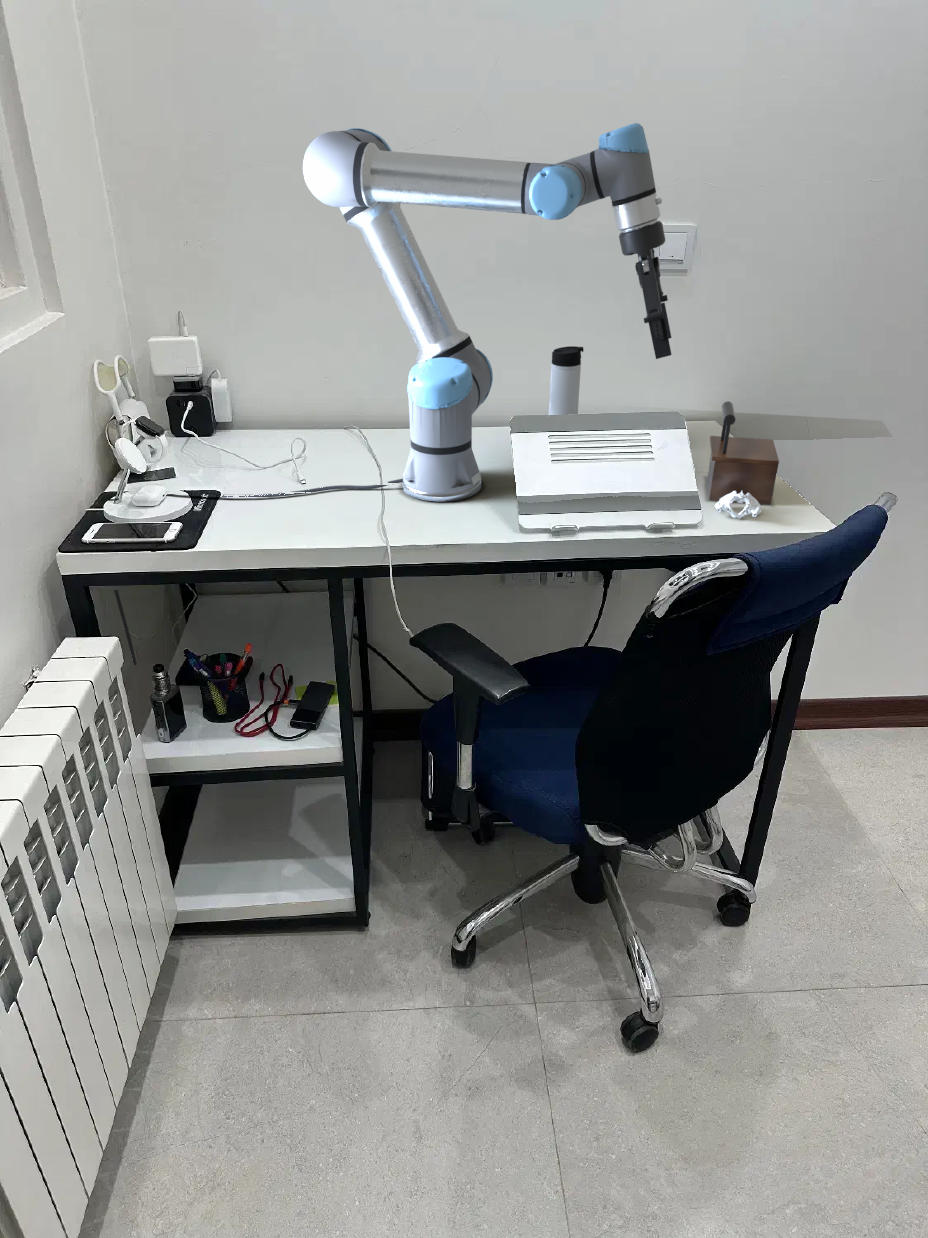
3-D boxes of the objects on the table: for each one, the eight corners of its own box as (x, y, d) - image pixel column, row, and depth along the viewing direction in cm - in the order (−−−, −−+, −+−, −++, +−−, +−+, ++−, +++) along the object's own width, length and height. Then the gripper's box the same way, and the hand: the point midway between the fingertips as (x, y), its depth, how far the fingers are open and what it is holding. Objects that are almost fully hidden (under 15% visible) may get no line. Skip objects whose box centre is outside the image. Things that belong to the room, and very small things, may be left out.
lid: (711, 460, 158) (718, 416, 154) (709, 439, 167) (715, 397, 163) (778, 465, 156) (786, 420, 151) (772, 443, 165) (780, 401, 161)
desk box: (708, 500, 162) (714, 461, 158) (707, 477, 171) (712, 439, 167) (770, 505, 160) (778, 465, 156) (765, 481, 169) (772, 443, 165)
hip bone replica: (714, 499, 153) (720, 482, 158) (712, 520, 155) (717, 503, 160) (761, 505, 150) (766, 488, 155) (758, 526, 153) (762, 509, 158)
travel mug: (576, 444, 188) (582, 351, 178) (546, 442, 189) (550, 349, 179) (578, 435, 193) (584, 344, 183) (549, 433, 194) (553, 342, 184)
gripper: (660, 227, 137) (685, 358, 146) (662, 211, 158) (683, 327, 167) (614, 241, 139) (641, 370, 148) (621, 224, 160) (645, 338, 169)
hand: (664, 347), depth 158 cm, fingers open, 13 cm apart
